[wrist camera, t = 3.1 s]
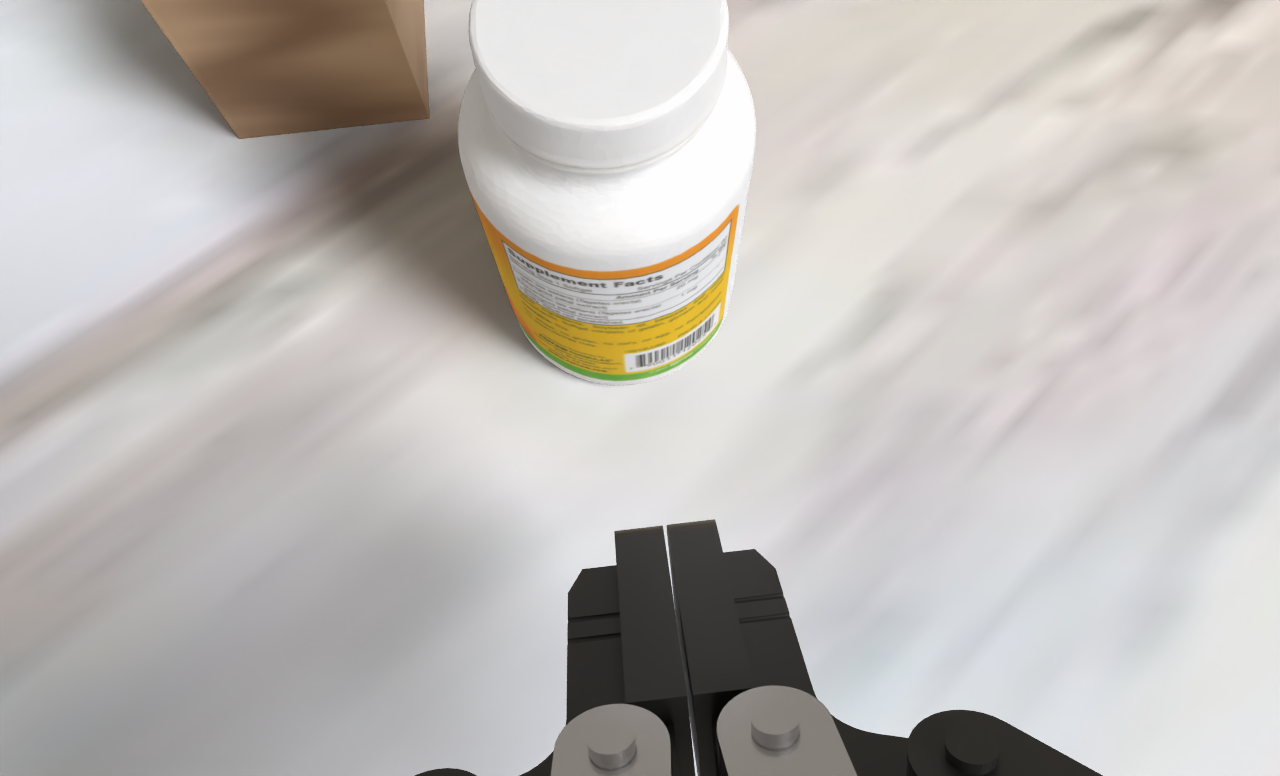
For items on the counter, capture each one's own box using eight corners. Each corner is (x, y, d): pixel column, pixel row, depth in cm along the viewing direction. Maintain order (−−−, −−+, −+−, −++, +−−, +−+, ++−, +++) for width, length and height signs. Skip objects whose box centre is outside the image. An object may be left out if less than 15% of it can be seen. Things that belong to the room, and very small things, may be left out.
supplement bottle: (558, 166, 25) (498, -159, 16) (759, 225, 24) (818, -78, 15) (478, 351, 23) (360, 108, 14) (691, 421, 23) (712, 213, 14)
